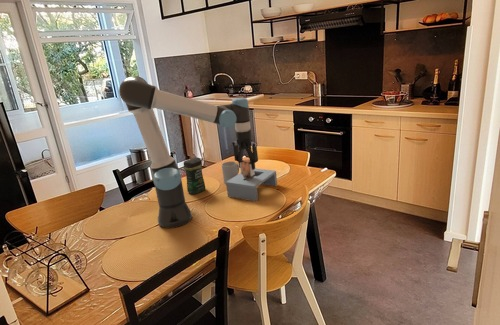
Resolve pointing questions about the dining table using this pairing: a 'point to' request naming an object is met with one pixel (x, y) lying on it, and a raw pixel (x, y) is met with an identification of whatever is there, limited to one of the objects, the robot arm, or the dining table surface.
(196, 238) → the dining table surface
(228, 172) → the mug
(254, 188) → the platform
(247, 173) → the peg
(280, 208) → the dining table surface
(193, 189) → the coffee jar
